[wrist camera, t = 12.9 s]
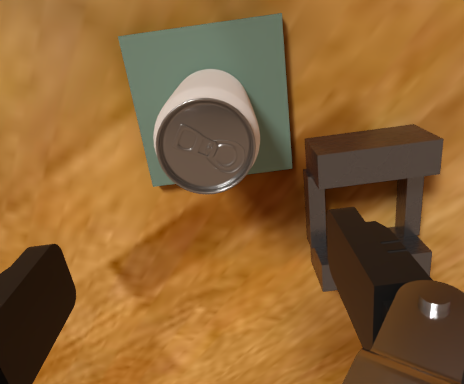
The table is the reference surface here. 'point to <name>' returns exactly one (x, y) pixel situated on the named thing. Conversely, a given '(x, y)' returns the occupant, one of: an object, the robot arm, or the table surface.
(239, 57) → the mat
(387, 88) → the table surface
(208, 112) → the can
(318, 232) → the block
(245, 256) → the table surface
